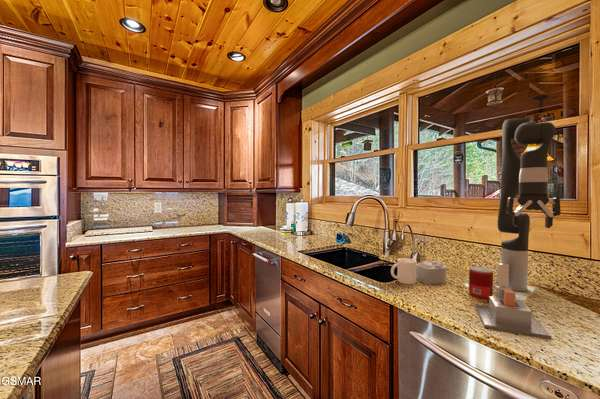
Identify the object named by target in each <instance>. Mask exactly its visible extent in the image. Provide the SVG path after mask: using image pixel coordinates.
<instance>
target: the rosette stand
mask: <svg viewBox="0 0 600 399" xmlns="http://www.w3.org/2000/svg"><path fill="white" fill-rule="evenodd" d="M496 264H497V265H496V284H495V283H494V284H493V289H495V290H496V296H493V295H492V296H489V299H488V301H489V302H488V305H483V304H482V305H480V304H475V306H474V307H475V309H476V312H477V314H478V316H479V319H480V320H481V322H482V324H483V326H484V329H491V330H495V331H501V332H507V333H511V334H512V333H513V334H518V335H524V336H530V337H534V338H535V337H536V338H539V339H540V338H541V339H545V340H546V339H547V340H552V335H551V334H550V332H548V330H546V328H545V327H544V326H543V325H542V324H541V322H539V320H537V318H536V317H535V316H534V314H533V311H532V310H531V309H530V308H529V307H528V306H527V305H526V304H525V303H524V302H523V300H520V299H515V305H516V306H517V307H514V306H507V305H502V301H504V290H511V287H509V286H508V272H509V265H508V264H506V263H501V262H497V263H496Z"/></svg>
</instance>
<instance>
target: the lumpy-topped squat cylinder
mask: <svg viewBox="0 0 600 399" xmlns="http://www.w3.org/2000/svg"><path fill="white" fill-rule="evenodd" d="M417 280H418V281H420V282H422V283H423V284H426V285H441V284H444V283H446V282H447V266H446V264H443V263H442V262H438V261H435V260H434V261H430V260H427V259H426V260H423V261H422V262H419V263H416V281H417Z"/></svg>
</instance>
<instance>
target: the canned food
mask: <svg viewBox="0 0 600 399" xmlns="http://www.w3.org/2000/svg"><path fill="white" fill-rule="evenodd" d="M468 272H469V276H468V277H469V278H468V280H469V281H468V292H469V295H471V296H472V297H475V298H478V299H484V300H485V299H486V300H489V296H492V297H493V289H494V284H493V283H494V270H493V269H491V268H489V267H486V266H477V265H476V266H475V265H473V266H470V267H469V271H468Z"/></svg>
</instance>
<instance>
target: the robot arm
mask: <svg viewBox="0 0 600 399" xmlns="http://www.w3.org/2000/svg"><path fill="white" fill-rule="evenodd" d="M501 134H502V135H501V139H502V140H501V142H502V143H501V144H502V152H501V154H502V156H501V168H500V198H499V206H498V214H497V230H498V231H499V232H500V233H505V234H513V235H515V234H516V235H518V236H517V237H515V238H512V239H507V240H503V241H501V245H500V246H501V247H500V248H501V249H500V250H501V251H500V256H501V257H500V263H506V264H508V265H509V272H508V286H509V287H511V290H512V291H514V292H515V291H517V292H526V291H528V279H529V278H528V275H529V274H528V273H529V270H528V269H529V267H528V266H529V237H530V236H529V235H530V224H531V218H530V215H529V214H528V213H525V212H524V211H526V210H527V211H533V210H534V211H541V212H542V213H543V214H544V215H545V217H544V218H545V220H544V221H545V222H544V223H545V224H544V227H545V228H547V229H551V227H553V224H554V223H553V222H554V218H555V217H556V216H560V215H561V198H559V197H552V198H549V197H548V186H549V184H548V183H549V172H548V157H549V156H548V155H549V150H550V147H551V144H552V142H553V141H554V137H555V135H556V126H555V125H554V124H553V123H552V122H548V121H547V122H546V121H545V122H538V123H537V122H536V120H535V119H534V118H533V117H516V118H508V119H507V118H506V119H505V120H504V121H503V123H502V129H501ZM512 140H515V143H516V144H518V145H520V146H524V145H525V146H526V145H538V147H537V148H536V149H531V150H528V151H525V152H522V153H521V154H520V155H519V154H518V152H517V151H516V150H515V147H514V146H513V141H512ZM517 196H518V197H517ZM516 197H517V198H516ZM516 202H517V203H518V204H519V205H518V206H517V207H516V209H515V210H514V204H516ZM548 203H550V205H552V206H551V207H552V211H550V208H549V207H547V204H548ZM513 210H514V211H513Z"/></svg>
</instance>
